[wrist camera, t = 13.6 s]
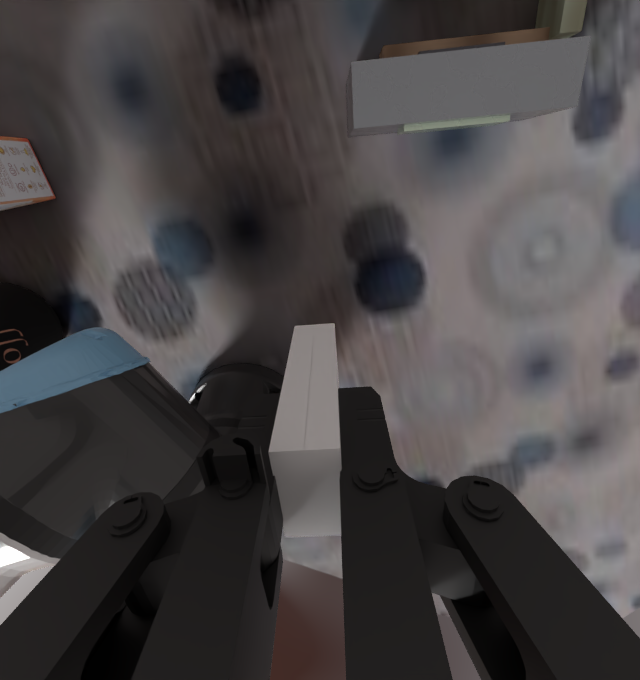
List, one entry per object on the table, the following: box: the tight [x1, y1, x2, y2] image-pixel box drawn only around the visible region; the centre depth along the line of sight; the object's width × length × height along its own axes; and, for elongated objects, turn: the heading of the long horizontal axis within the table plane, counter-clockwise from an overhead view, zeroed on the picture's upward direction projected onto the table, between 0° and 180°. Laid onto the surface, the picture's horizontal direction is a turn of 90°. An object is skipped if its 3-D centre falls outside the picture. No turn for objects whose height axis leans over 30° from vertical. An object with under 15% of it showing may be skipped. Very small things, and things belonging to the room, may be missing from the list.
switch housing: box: [346, 36, 591, 137], centre depth 28 cm, size 16×5×8 cm, turn 95°
